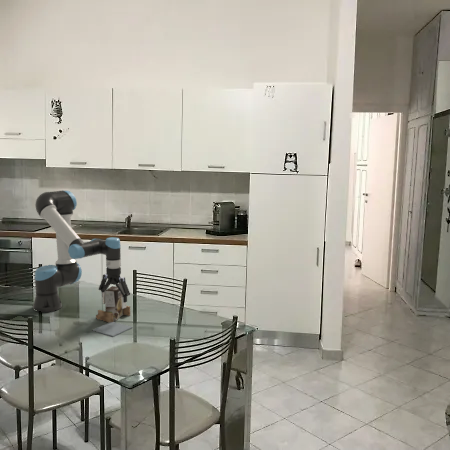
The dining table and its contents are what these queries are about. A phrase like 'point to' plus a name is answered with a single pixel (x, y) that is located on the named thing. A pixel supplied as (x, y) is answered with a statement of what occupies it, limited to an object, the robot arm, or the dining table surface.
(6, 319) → the dining table surface
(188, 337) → the dining table surface
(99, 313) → the slot rack
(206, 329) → the dining table surface
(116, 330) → the rubber mat
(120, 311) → the coffee box
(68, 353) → the dining table surface
